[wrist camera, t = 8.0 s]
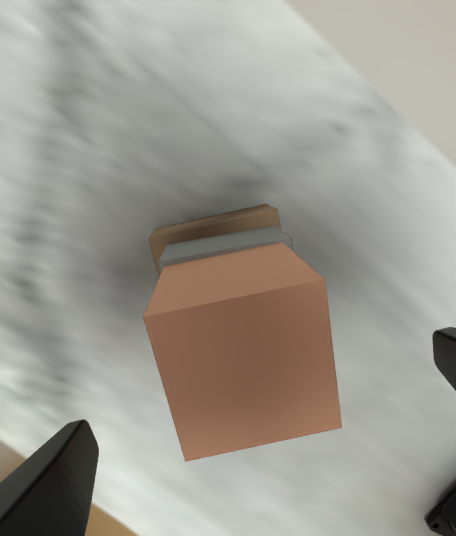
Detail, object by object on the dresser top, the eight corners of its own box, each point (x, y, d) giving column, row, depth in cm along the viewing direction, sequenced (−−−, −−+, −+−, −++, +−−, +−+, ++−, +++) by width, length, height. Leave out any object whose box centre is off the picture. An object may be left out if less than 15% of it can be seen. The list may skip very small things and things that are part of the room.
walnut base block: (265, 203, 18) (277, 209, 15) (283, 304, 20) (297, 326, 17) (156, 228, 18) (148, 238, 15) (184, 326, 20) (181, 353, 17)
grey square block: (274, 225, 15) (291, 237, 12) (287, 323, 17) (304, 354, 14) (166, 244, 15) (158, 261, 12) (188, 341, 17) (185, 377, 14)
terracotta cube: (282, 242, 12) (324, 279, 8) (297, 347, 14) (341, 427, 9) (163, 266, 12) (142, 316, 8) (190, 369, 14) (185, 461, 9)
